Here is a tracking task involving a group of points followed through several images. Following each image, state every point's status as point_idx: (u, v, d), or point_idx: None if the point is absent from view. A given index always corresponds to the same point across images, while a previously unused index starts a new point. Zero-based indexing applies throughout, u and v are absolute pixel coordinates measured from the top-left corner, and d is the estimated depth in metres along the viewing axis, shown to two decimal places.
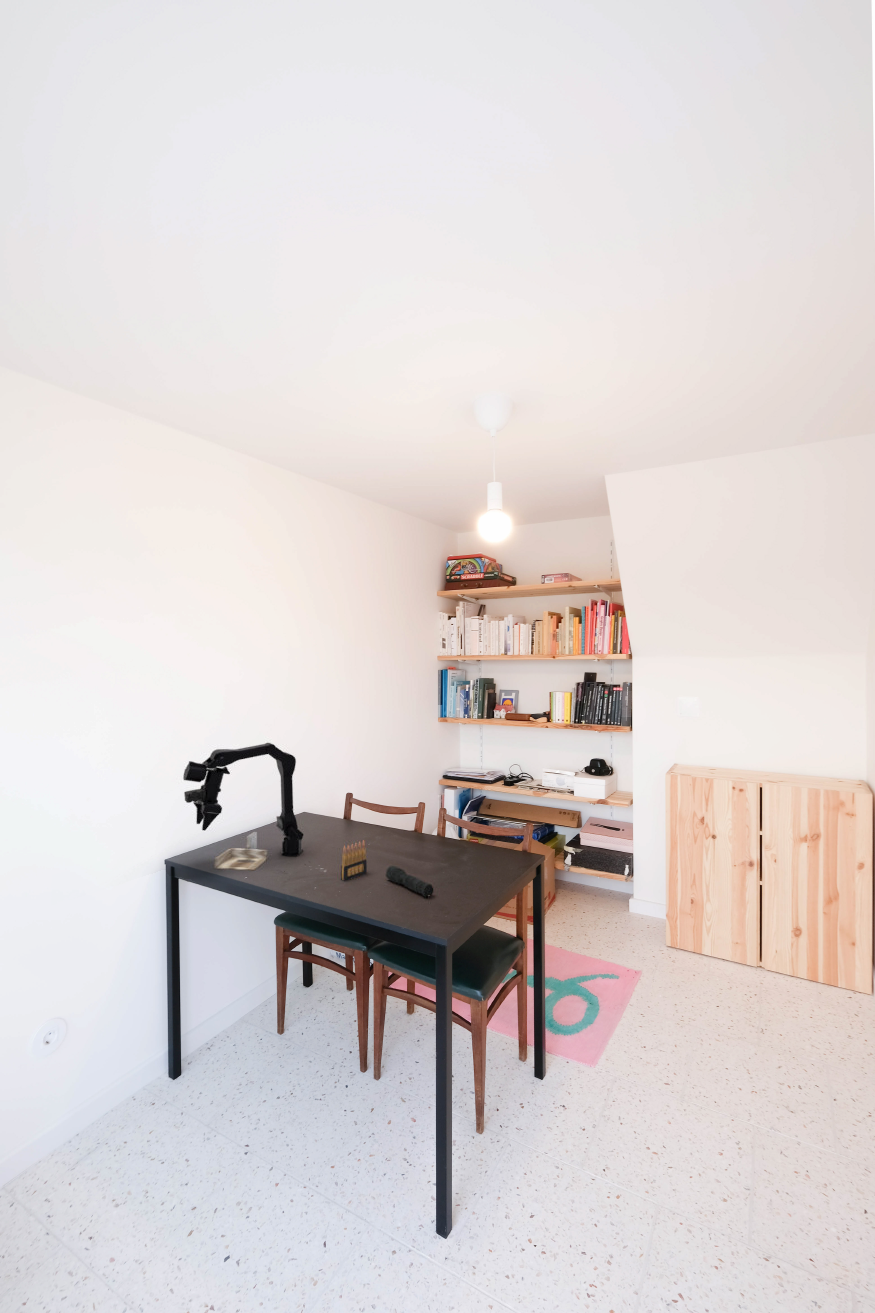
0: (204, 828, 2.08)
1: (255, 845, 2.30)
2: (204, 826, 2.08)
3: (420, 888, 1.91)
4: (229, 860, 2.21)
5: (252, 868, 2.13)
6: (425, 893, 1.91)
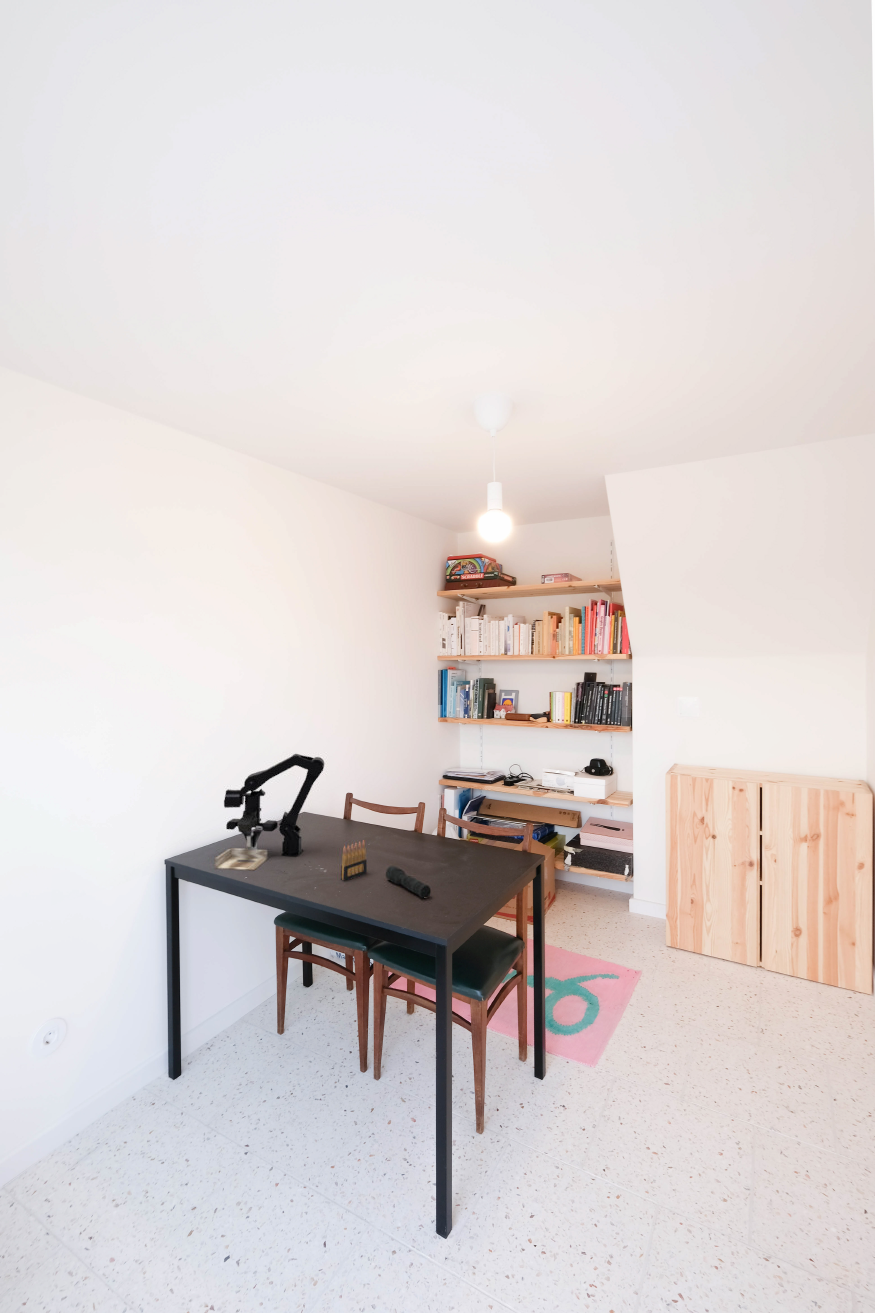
0: (255, 845, 2.29)
1: None
2: (255, 843, 2.28)
3: (417, 889, 1.91)
4: (229, 860, 2.21)
5: (252, 868, 2.13)
6: (422, 894, 1.90)
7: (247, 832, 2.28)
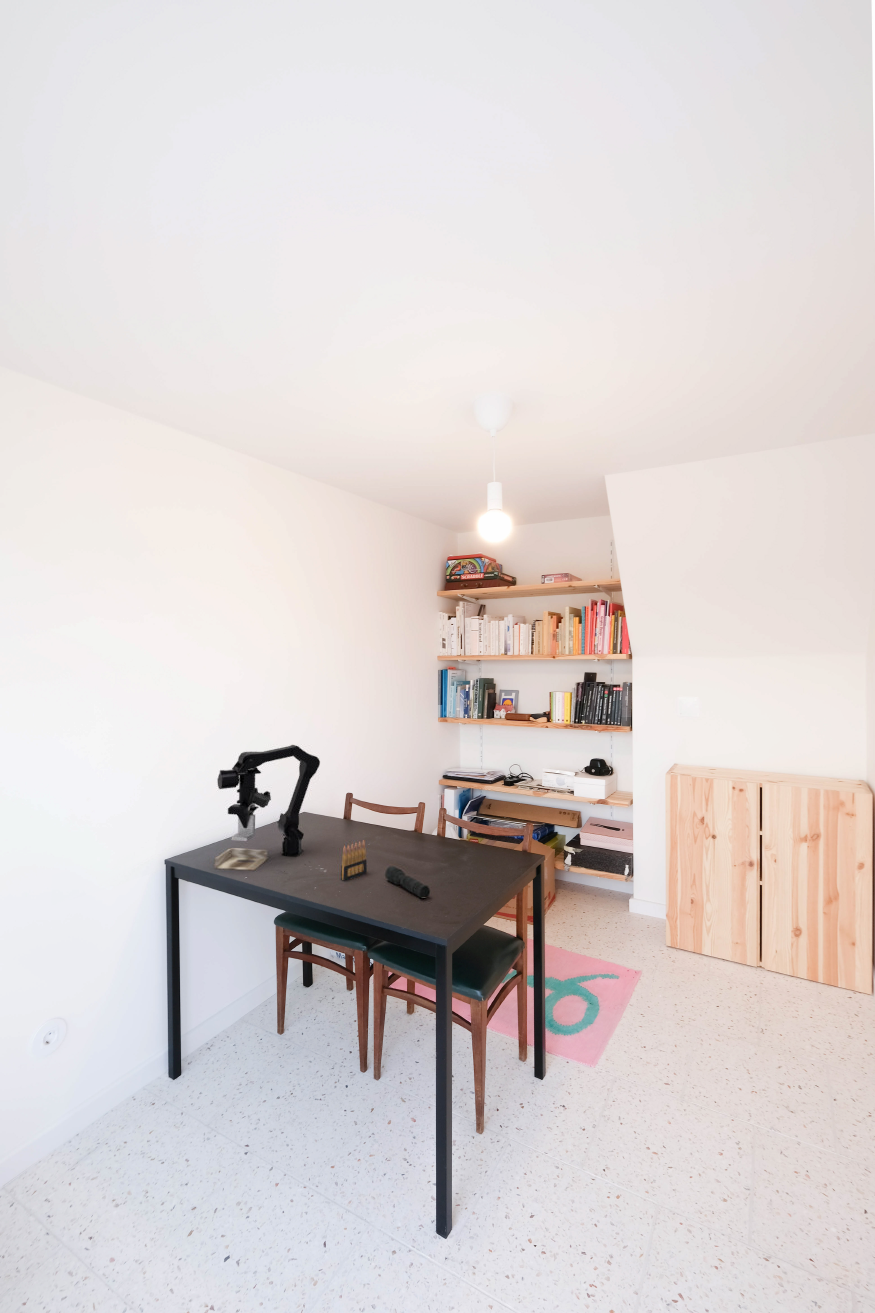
0: None
1: None
2: None
3: (416, 889, 1.90)
4: (229, 860, 2.21)
5: (252, 868, 2.13)
6: (421, 894, 1.90)
7: None
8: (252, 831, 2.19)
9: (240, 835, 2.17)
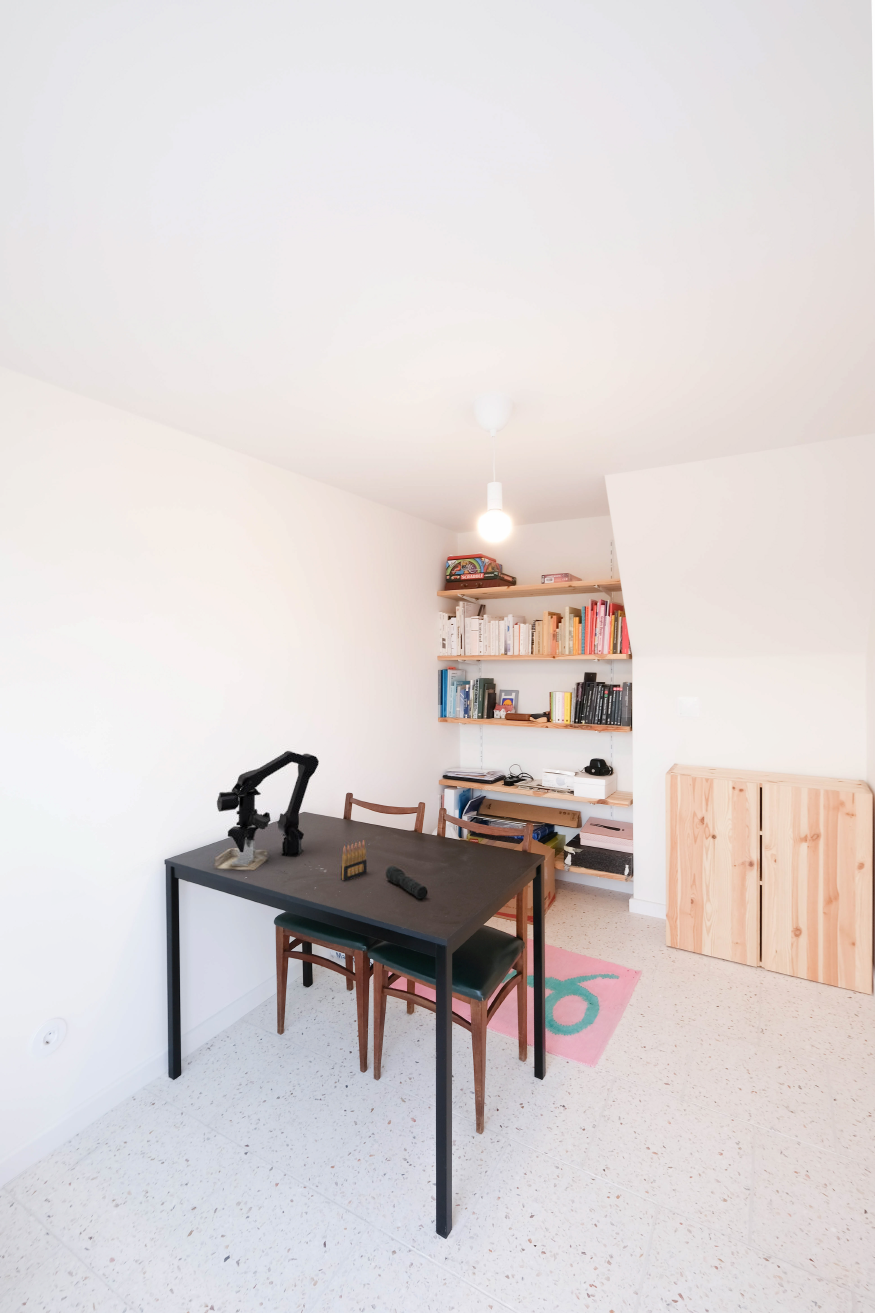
0: None
1: None
2: None
3: (414, 890, 1.90)
4: (229, 860, 2.21)
5: (252, 868, 2.13)
6: (419, 895, 1.89)
7: None
8: (252, 856, 2.19)
9: (240, 861, 2.17)
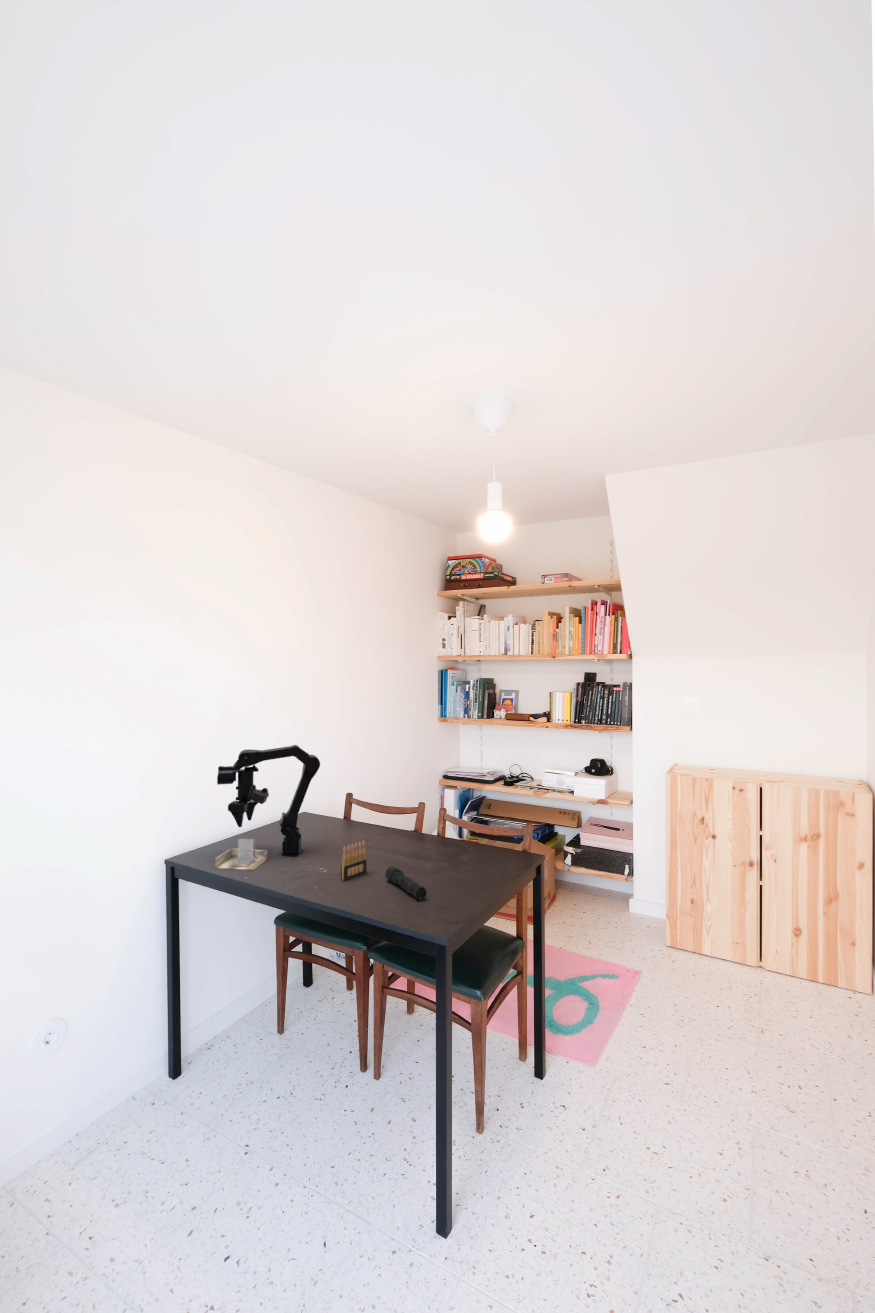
0: None
1: None
2: None
3: (413, 890, 1.89)
4: (229, 860, 2.21)
5: (252, 868, 2.13)
6: (417, 896, 1.89)
7: None
8: (252, 856, 2.19)
9: (240, 861, 2.17)
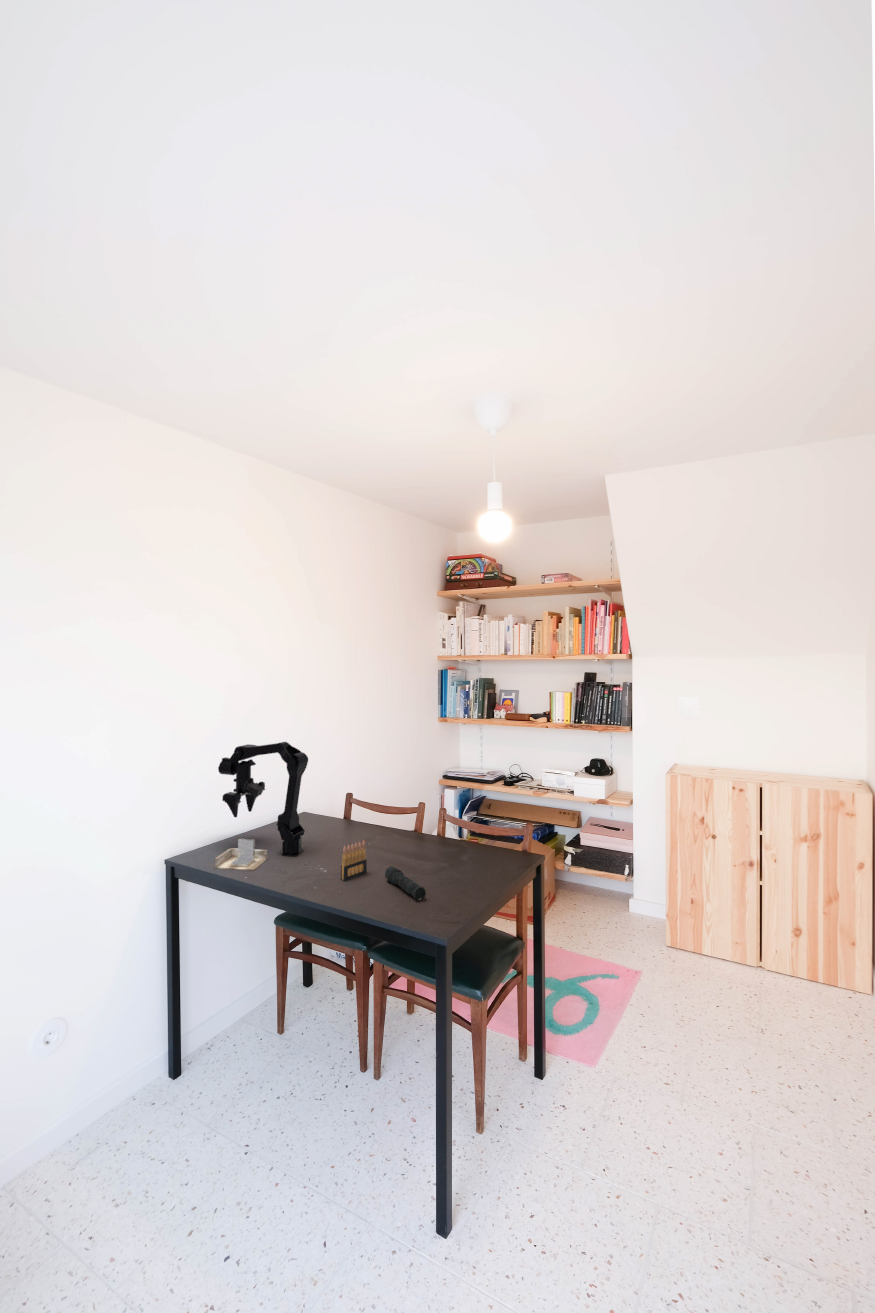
0: None
1: None
2: None
3: (412, 890, 1.89)
4: (229, 860, 2.21)
5: (252, 868, 2.13)
6: (417, 896, 1.88)
7: None
8: (252, 856, 2.19)
9: (240, 861, 2.17)
